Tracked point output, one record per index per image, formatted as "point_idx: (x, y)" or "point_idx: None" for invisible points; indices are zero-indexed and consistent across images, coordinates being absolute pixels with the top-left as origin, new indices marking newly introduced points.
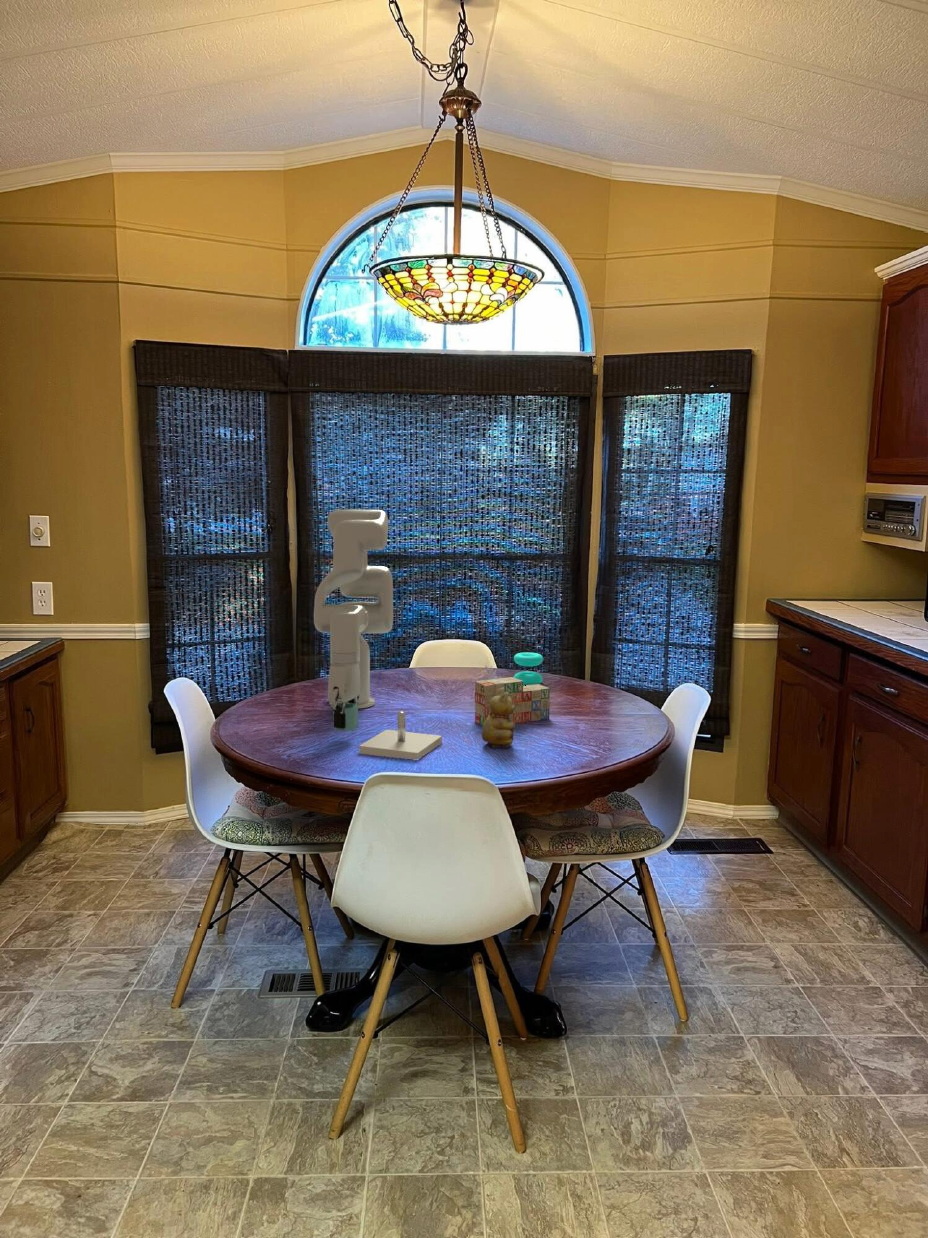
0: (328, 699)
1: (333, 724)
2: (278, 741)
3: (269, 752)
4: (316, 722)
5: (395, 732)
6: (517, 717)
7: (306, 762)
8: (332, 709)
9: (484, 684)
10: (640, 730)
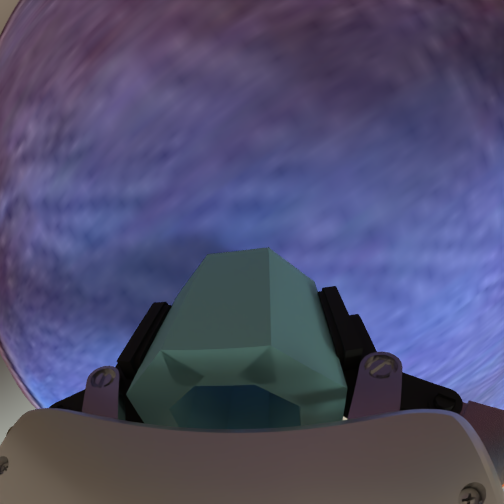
0: (19, 421)
1: (203, 263)
2: (95, 38)
3: (4, 130)
4: (423, 8)
5: (346, 419)
6: None
7: (15, 293)
8: (61, 402)
9: (502, 485)
10: None
